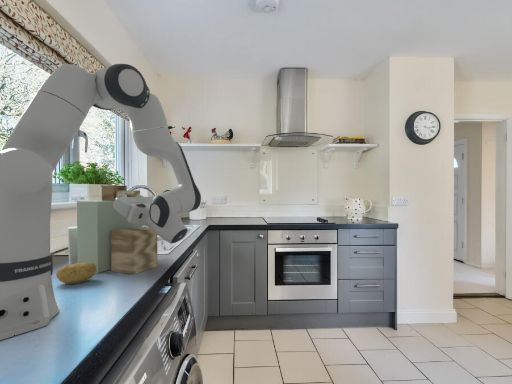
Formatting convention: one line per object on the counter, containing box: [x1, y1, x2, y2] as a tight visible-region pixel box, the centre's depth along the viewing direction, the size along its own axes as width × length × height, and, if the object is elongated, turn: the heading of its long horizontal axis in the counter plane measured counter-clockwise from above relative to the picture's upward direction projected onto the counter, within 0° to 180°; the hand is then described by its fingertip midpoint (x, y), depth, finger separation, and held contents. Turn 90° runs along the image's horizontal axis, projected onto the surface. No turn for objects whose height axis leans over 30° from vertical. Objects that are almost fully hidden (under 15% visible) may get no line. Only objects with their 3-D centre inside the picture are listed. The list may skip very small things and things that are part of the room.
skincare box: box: [67, 225, 77, 265], centre depth 115 cm, size 8×7×16 cm
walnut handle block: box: [101, 185, 141, 201], centre depth 112 cm, size 6×16×6 cm, turn 64°
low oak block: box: [110, 226, 159, 275], centre depth 109 cm, size 12×11×15 cm
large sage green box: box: [76, 199, 143, 274], centre depth 114 cm, size 20×12×26 cm, turn 154°
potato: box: [56, 262, 97, 285], centre depth 92 cm, size 7×11×6 cm, turn 114°
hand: (128, 194), depth 110 cm, fingers closed on walnut handle block, 3 cm apart
